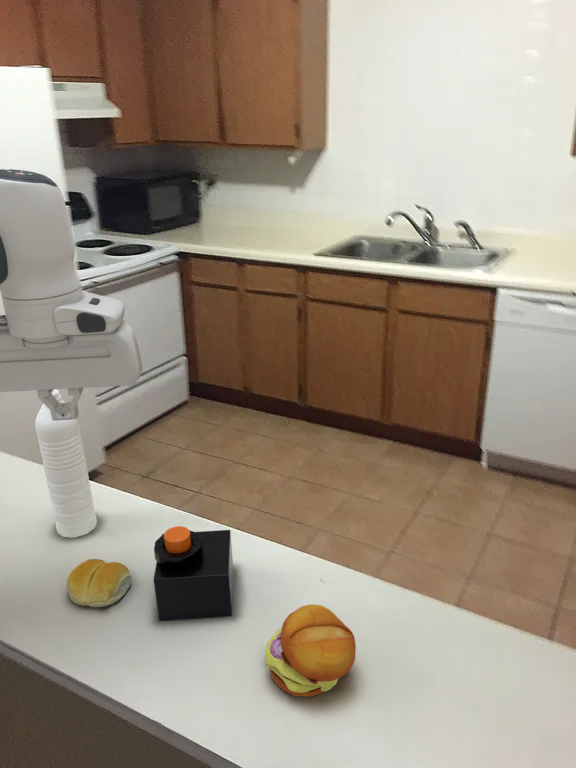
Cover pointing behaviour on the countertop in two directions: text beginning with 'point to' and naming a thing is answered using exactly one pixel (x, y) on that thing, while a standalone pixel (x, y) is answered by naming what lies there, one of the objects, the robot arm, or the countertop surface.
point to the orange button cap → (177, 539)
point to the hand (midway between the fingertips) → (66, 418)
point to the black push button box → (195, 577)
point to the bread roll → (98, 583)
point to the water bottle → (66, 472)
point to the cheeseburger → (310, 651)
